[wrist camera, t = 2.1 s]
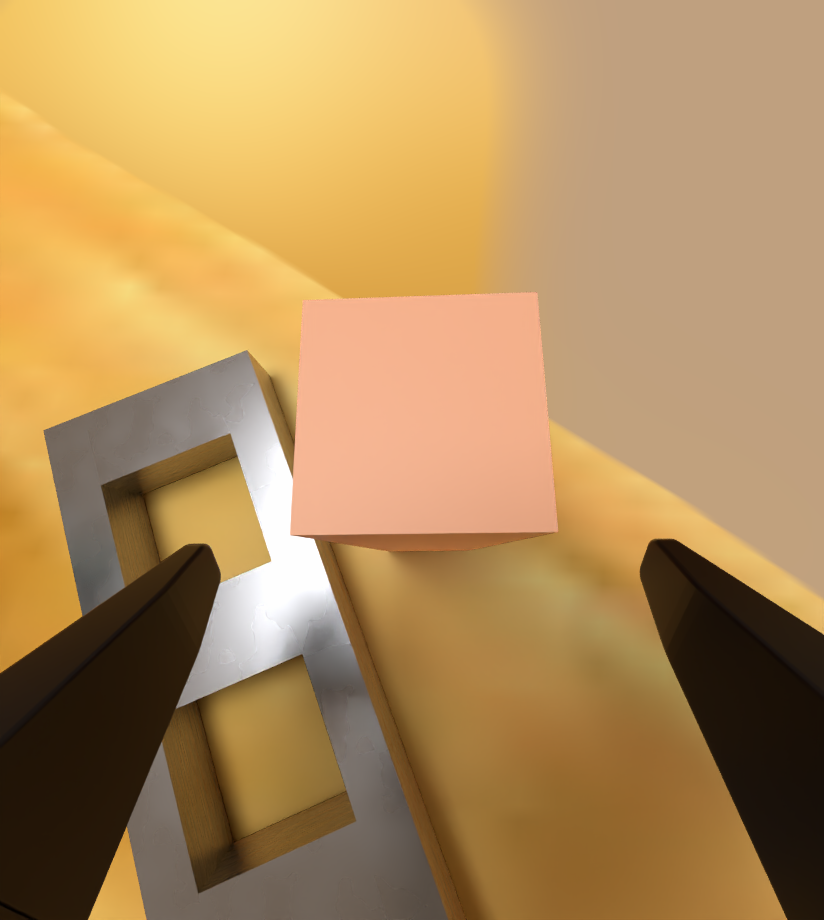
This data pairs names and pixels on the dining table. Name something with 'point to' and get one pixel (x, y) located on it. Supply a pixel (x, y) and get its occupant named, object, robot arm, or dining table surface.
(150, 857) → the rail
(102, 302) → the dining table surface
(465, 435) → the peg
